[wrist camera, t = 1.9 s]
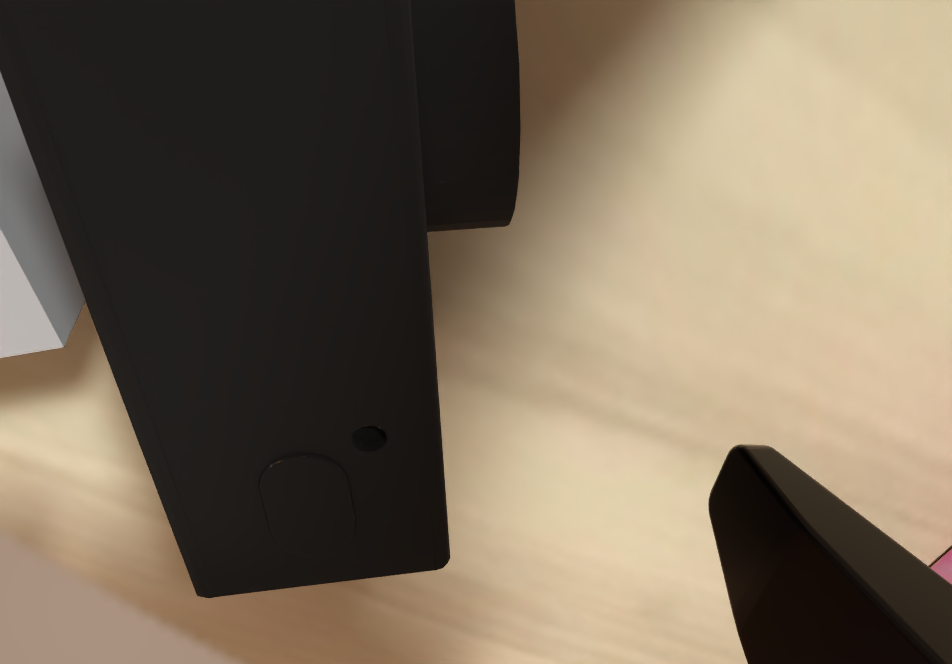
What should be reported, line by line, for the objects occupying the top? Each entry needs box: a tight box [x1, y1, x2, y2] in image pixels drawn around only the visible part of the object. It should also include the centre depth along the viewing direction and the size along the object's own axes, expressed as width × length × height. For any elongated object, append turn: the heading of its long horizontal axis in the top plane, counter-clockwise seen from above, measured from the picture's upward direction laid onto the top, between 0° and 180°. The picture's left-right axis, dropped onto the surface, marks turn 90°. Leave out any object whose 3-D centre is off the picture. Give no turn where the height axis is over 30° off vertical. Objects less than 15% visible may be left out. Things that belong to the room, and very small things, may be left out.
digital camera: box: [0, 0, 520, 598], centre depth 14 cm, size 10×5×7 cm, turn 2°
